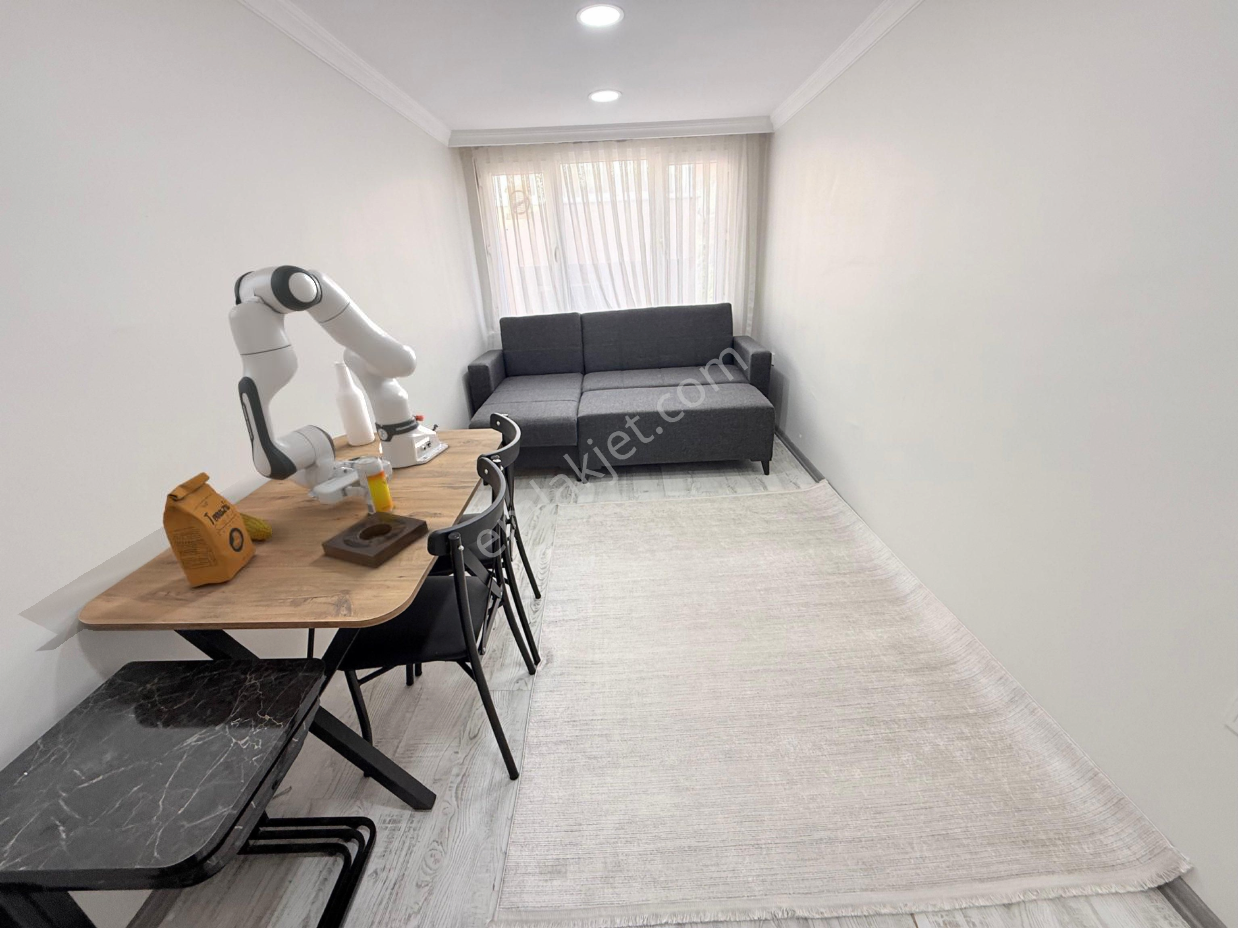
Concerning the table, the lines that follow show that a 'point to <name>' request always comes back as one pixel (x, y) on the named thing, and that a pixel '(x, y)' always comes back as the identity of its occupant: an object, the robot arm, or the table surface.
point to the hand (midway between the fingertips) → (376, 484)
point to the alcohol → (352, 408)
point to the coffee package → (205, 532)
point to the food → (256, 527)
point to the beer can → (374, 484)
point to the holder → (377, 551)
